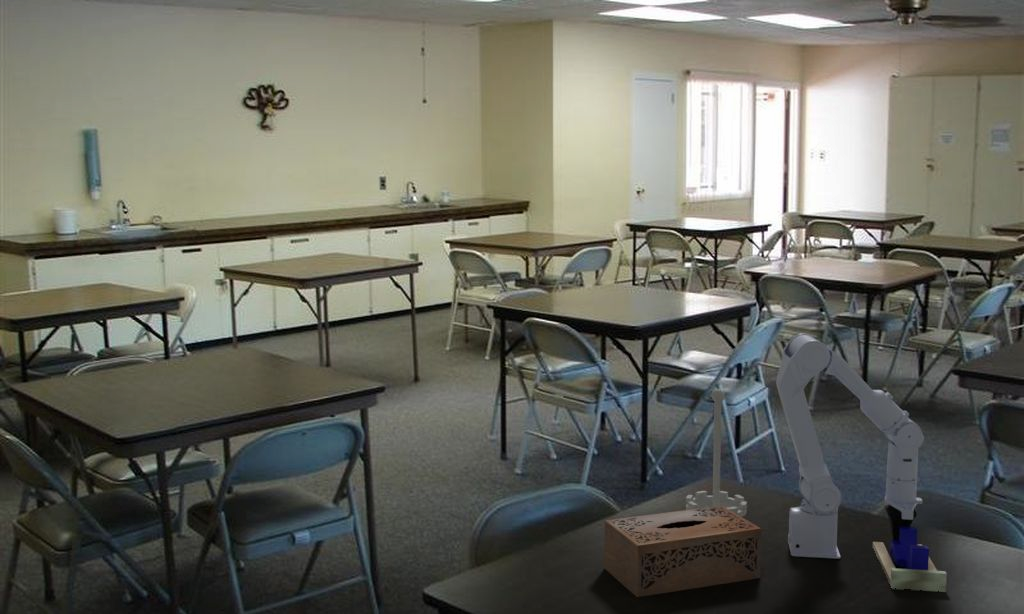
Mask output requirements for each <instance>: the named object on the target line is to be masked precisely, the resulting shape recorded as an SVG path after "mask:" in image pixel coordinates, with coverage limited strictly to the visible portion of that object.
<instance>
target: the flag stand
mask: <svg viewBox="0 0 1024 614" xmlns="http://www.w3.org/2000/svg"><path fill="white" fill-rule="evenodd" d="M710 397H711V399H712V401H714V402H713V403H714V406H713V411H714V412H713V416H714V417H713V452H712V453H713V455H712V456H713V457H712V459H713V462H712V463H713V464H712V495H708V491H706V490H701V491H695V496H694V495H693V494H688V495H686V498H685V510H690V509H698V508H705V507H713V506H721V505H722V506H724V507H725V508H727V509H729V510H731V511H732V512H734V513H736V514H737V515H739V516H741V517H742V518H744V516H746V514H747V511H748V510H747V508H748V504H747V503H748V501H745V497H744V496H742V495H740V494H735V495H734V496H733V497H734V498H733V497H729V491H724V490H720V489H721V453H722V452H721V449H722V446H721V445H722V444H721V443H722V404H723V403H722V402H723V401H724V400H725V397H726V394H725V391H724V390H723V389H722V388H715V389H714V390H712V391H711V394H710Z"/></svg>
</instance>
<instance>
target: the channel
mask: <svg viewBox="0 0 1024 614" xmlns="http://www.w3.org/2000/svg"><path fill="white" fill-rule="evenodd" d="M917 545H920V546H923V544H921V543H917ZM872 549H874V550H873V551H875V552H874V554H875V553H876V554H875V556H876V558H877V561H878V560H879V561H878V562H880V563H879V565H880V564H881V565H880V567H881V566H882V567H881V569H882V571H883V570H884V571H883V574H884V573H885V574H884V576H885V575H886V576H885V578H886V577H887V578H886V580H887V579H888V580H887V582H888V585H889V584H890V585H889V586H891V587H890V589H891V588H892V590H904V589H911V590H910V591H920V590H922V591H923V592H924V591H925V592H938V591H939V593H941V592H942V593H946V592H947V579H948V578H947V577H948V575H947V574H948V573H947V572H946V570H938V569H937V568H936V566H935V564H934V563H933V561H932V560H931V557H929V561H928V570H915V569H906V568H896V565H895V563H894V561H893V559H892V557H891V555H890V554H889V552H888V550H887V547H886V546H885V544H884V542H882V541H872ZM895 588H896V589H895Z"/></svg>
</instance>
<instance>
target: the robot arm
mask: <svg viewBox="0 0 1024 614" xmlns="http://www.w3.org/2000/svg"><path fill="white" fill-rule="evenodd" d="M778 369H779V370H778V372H777V375H776V376H777V377H776V380H775V382H776V383H775V385H776V388H777V391H778V392H777V393H778V396H779V398H780V402H781V406H782V409H783V413H784V415H785V420H786V423H787V426H788V431H789V434H790V437H791V439H792V440H791V441H792V444H793V447H794V451H795V453H796V458H797V461H798V464H799V466H798V471H799V482H798V488H799V492H800V494H801V495H802V496H803V498H802V501H801V503H800V506H795V507H790V508H789V514H788V515H789V516H788V517H789V518H788V535H787V544H788V547H789V551H790V555H791V556H792V557H799V558H800V557H803V558H816V559H817V558H820V559H821V558H822V559H838V560H840V559H841V554H840V551H839V548H838V545H837V543H838V541H837V540H838V516H839V515H838V513H839V512H838V511H839V507H840V506H841V503H842V493H841V491H840V489H839V488H838V487H837V485H835V484H834V482H833V480H832V476H831V474H830V472H829V469H828V467H827V466H826V463H825V460H824V455H823V452H822V449H821V446H820V442H819V438H818V435H817V432H816V428H815V424H814V421H813V418H812V417H813V416H812V414H811V411H810V408H809V403H808V400H807V398H806V393H805V390H804V389H805V388H806V387H807V385H808V384H809V382H810V381H811V380H812V379H813V378H814V377H815V376H817V375H818V374H820V373H821V372H822V373H823V374H825V375H830V376H833V377H834V376H835V377H836V379H838V380H839V382H840V383H842V384H843V385H844V386H845V388H847V389H848V390H849V391H850V392H851V393H853V394H854V396H855V397H856V398H858V400H859V404H860V405H859V407H860V411H861V412H862V413H863V414H864V415H865V416H866V417H867V418H868V419H869V420H870V421H871V422H872V423H873V424H874V425H875V426H876V427H877V428H878V429H879V430H880V431H881V432H883V434H884V436H885V438H887V439H888V440H889V441H888V442H887V443H888V445H887V446H888V447H887V448H888V449H887V459H886V461H887V462H886V463H887V464H886V485H885V495H884V502H885V503H886V504H885V505H884V507H883V508H884V509H885V512H886V514H887V517H888V521H889V526H890V527H889V528H890V533H891V538H892V539H891V540H897V541H899V531H900V526H907V527H912V526H911V525H912V524H913V522H914V520H915V518H917V515H918V513H917V511H916V506H917V505H922V504H923V499H922V498H921V497H917V487H918V472H919V471H918V470H919V469H918V468H919V448H920V447H921V446H922V444H923V442H924V441H925V436H924V435H923V432H922V431H923V430H922V428H921V426H919V425H918V424H917V423H916V422H914V420H912V419H910V417H909V416H910V413H909V412H908V411H907V410H903V409H902V408H900V406H898V405H897V403H896V402H895V401H894V400H893V399H894V396H893V395H892V394H891V393H890V392H889V391H886V392H885V391H884V390H883V389H882V390H881V389H872V387H870V385H869V384H867V382H866V381H864V379H863V378H862V377H861V376H860V375H859V374H858V373H857V372H856V371H855V369H854V368H853V367H852V366H851V365H850V364H849V363H848V362H847V361H846V360H845V359H844V358H843V357H842V356H841V355H839V354H838V353H836V352H835V351H833V350H832V349H830V348H829V347H828V346H827V345H826V344H825V342H822V341H819V340H818V339H817V338H815V337H814V336H813V335H811V334H809V333H798V334H796V335H795V336H793V337H791V339H790V340H789V341H788V343H787V344H786V345H785V346H784V348H783V349H782V358H781V363H780V366H779V368H778Z"/></svg>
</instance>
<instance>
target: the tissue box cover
mask: <svg viewBox="0 0 1024 614" xmlns="http://www.w3.org/2000/svg"><path fill="white" fill-rule="evenodd" d="M761 555H762V528H761V527H760V526H758V525H756V524H755V523H753V522H751V521H749V520H747V519H745V518H744V517H741V516H739V515H737V514H736V513H734V512H732V511H731V510H729V509H727V508H725V507H724V506H722V505H721V506H713V507H705V508H698V509H690V510H686V509H684V510H676V511H667V512H660V513H659V512H658V513H652V514H645V515H644V514H643V515H637V516H636V515H635V516H629V517H621V518H615V519H613V518H612V519H605V520H604V564H603V565H604V570H606V572H608V573H609V574H610V575H611V576H613V578H615V579H616V580H617V581H618V582H619V583H620V584H622V585H623V586H624V587H625V588H626V589H627V590H628V591H629V592H630V593H632V594H633V595H634V596H635V597H636V598H641V597H647V596H648V597H649V596H654V595H660V594H666V593H673V592H678V591H679V592H680V591H685V590H692V589H698V588H705V587H711V586H712V587H713V586H718V585H723V584H730V583H731V584H732V583H736V582H742V581H743V582H744V581H749V580H756V579H761V559H762V558H761Z"/></svg>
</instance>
